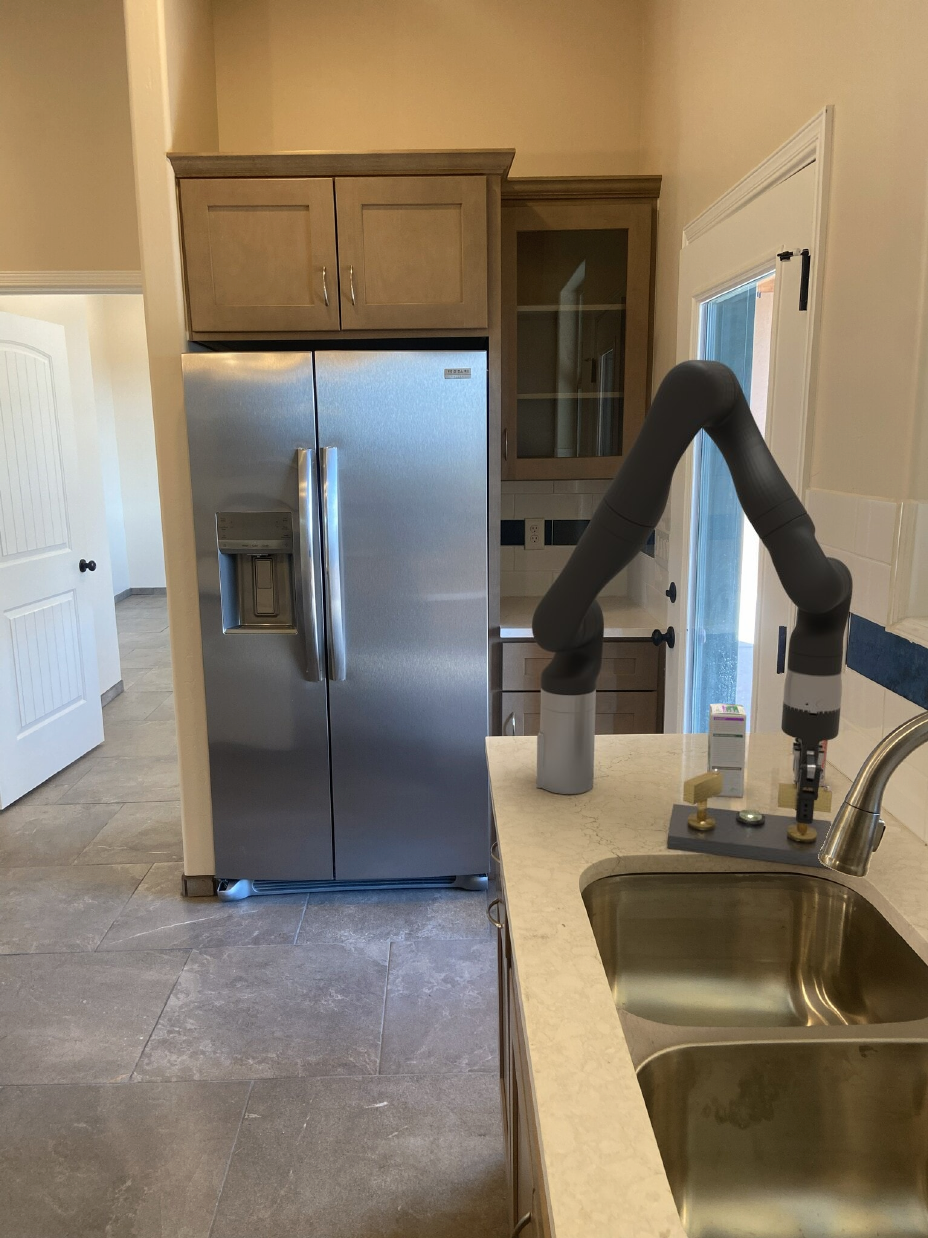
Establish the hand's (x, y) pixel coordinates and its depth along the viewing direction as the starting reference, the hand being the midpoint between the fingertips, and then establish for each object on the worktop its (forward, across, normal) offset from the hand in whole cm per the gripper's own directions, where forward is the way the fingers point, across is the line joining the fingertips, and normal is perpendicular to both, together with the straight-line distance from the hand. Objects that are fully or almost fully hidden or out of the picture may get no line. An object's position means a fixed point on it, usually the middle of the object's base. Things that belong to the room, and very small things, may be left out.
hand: (803, 816), depth 128 cm
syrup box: (+5, -20, -11) cm, 23 cm away
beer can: (+5, -27, +3) cm, 28 cm away
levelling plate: (+5, -1, -7) cm, 9 cm away
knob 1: (+3, 0, -14) cm, 14 cm away
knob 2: (+3, 0, 0) cm, 3 cm away
